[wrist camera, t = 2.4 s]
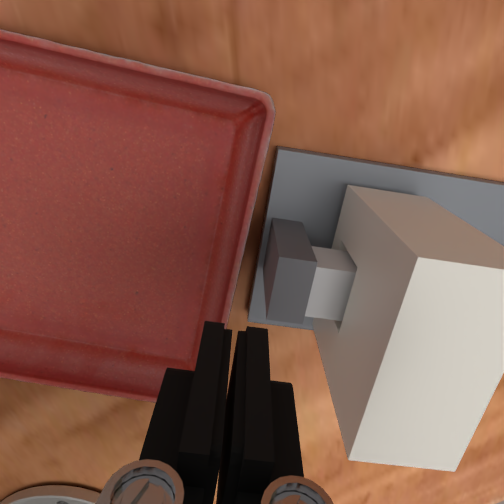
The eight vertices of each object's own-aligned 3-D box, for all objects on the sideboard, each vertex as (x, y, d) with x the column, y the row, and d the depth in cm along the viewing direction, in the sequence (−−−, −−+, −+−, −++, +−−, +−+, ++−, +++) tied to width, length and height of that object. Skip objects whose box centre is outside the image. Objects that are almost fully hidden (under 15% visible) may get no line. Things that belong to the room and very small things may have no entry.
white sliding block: (381, 333, 23) (454, 471, 15) (312, 324, 23) (348, 460, 14) (426, 197, 20) (551, 276, 12) (347, 184, 20) (418, 256, 11)
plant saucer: (-102, 3, 19) (-171, -12, 16) (276, 92, 20) (281, 94, 17) (-69, 327, 26) (-112, 361, 22) (212, 375, 27) (208, 412, 24)
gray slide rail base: (596, 357, 26) (697, 436, 20) (247, 310, 25) (247, 382, 19) (683, 211, 22) (838, 257, 17) (277, 145, 21) (288, 170, 15)
